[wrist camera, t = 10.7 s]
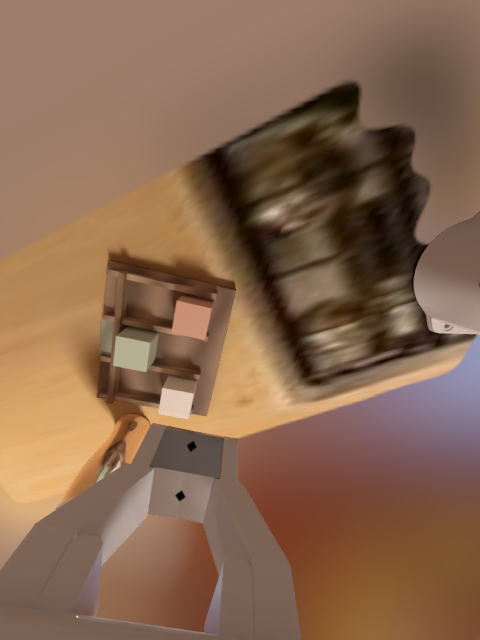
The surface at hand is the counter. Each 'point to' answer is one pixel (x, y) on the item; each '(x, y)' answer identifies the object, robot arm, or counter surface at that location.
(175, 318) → the salmon pink cube
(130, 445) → the beer glass
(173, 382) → the pale pink cube
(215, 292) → the brown compartment tray
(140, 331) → the sage green cube
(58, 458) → the counter surface
